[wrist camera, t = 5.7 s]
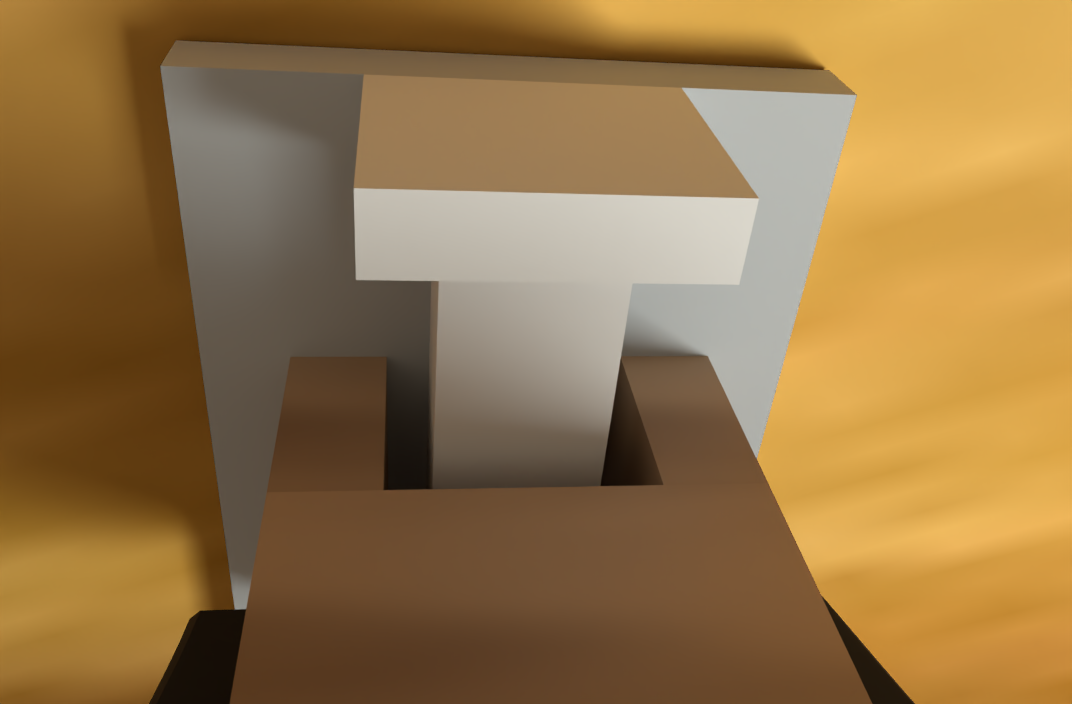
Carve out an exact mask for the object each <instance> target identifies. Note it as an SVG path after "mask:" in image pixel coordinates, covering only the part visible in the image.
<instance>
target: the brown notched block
mask: <svg viewBox="0 0 1072 704" xmlns="http://www.w3.org/2000/svg"><path fill="white" fill-rule="evenodd" d="M230 704H872V702H871V700H870V698H869V696H868V693H867V691H866V689H865V687H864V685H863V683H862V681H861V679H860V677H859V674H858V672H857V670H856V668H855V666H854V664H853V662H852V660H851V658H850V655H849V653H848V651H847V649H846V647H845V645H844V643H843V641H842V639H841V636H840V634H839V632H838V630H837V628H836V626H835V624H834V622H833V620H832V617H831V615H830V613H829V611H828V609H827V607H826V605H825V603H824V601H823V598H822V596H821V594H820V592H819V590H818V588H817V586H816V584H815V581H814V579H813V577H812V575H811V573H810V571H809V569H808V567H807V565H806V562H805V560H804V558H803V556H802V554H801V552H800V550H799V548H798V546H797V543H796V541H795V539H794V537H793V535H792V533H791V531H790V529H789V527H788V524H787V522H786V520H785V518H784V516H783V514H782V512H781V510H780V508H779V505H778V503H777V501H776V499H775V497H774V495H773V493H772V491H771V489H770V486H769V484H768V482H767V480H766V478H765V476H764V474H763V472H762V469H761V467H760V465H759V463H758V461H757V459H756V457H755V455H754V453H753V450H752V448H751V446H750V444H749V442H748V440H747V438H746V436H745V434H744V431H743V429H742V427H741V425H740V423H739V421H738V419H737V417H736V415H735V412H734V410H733V408H732V406H731V404H730V402H729V400H728V398H727V396H726V393H725V391H724V389H723V387H722V385H721V383H720V381H719V379H718V377H717V374H716V372H715V370H714V368H713V366H712V364H711V362H710V360H709V357H708V356H621V359H620V365H619V372H618V378H617V384H616V390H615V397H614V403H613V409H612V416H611V422H610V428H609V434H608V441H607V447H606V453H605V460H604V466H603V472H602V478H601V485H600V486H587V487H531V488H476V489H420V490H388V434H387V357H290V362H289V368H288V374H287V379H286V385H285V391H284V397H283V402H282V408H281V414H280V419H279V425H278V431H277V436H276V442H275V448H274V453H273V459H272V465H271V471H270V476H269V482H268V488H267V493H266V499H265V505H264V510H263V516H262V522H261V528H260V533H259V539H258V545H257V550H256V556H255V562H254V567H253V573H252V579H251V585H250V590H249V596H248V602H247V607H246V613H245V619H244V624H243V630H242V636H241V641H240V647H239V653H238V659H237V664H236V670H235V676H234V681H233V687H232V693H231V698H230Z"/></svg>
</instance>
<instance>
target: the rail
mask: <svg viewBox="0 0 1072 704" xmlns="http://www.w3.org/2000/svg"><path fill="white" fill-rule="evenodd" d="M160 69H161V76H162V83H163V90H164V98H165V105H166V112H167V119H168V127H169V134H170V141H171V149H172V156H173V163H174V170H175V178H176V185H177V192H178V200H179V207H180V214H181V221H182V229H183V236H184V243H185V251H186V258H187V265H188V272H189V280H190V287H191V294H192V302H193V309H194V316H195V323H196V331H197V338H198V345H199V352H200V360H201V367H202V374H203V382H204V389H205V396H206V403H207V411H208V418H209V425H210V433H211V440H212V447H213V454H214V462H215V469H216V476H217V484H218V491H219V498H220V505H221V513H222V520H223V527H224V534H225V542H226V549H227V556H228V564H229V571H230V578H231V585H232V593H233V600H234V607H235V610H236V609H246V607H247V602H248V596H249V590H250V585H251V579H252V573H253V567H254V562H255V556H256V550H257V545H258V539H259V533H260V528H261V522H262V516H263V510H264V505H265V499H266V493H267V488H268V482H269V476H270V471H271V465H272V459H273V453H274V448H275V442H276V436H277V431H278V425H279V419H280V414H281V408H282V402H283V397H284V391H285V385H286V379H287V374H288V368H289V362H290V357H387V434H388V490H420V489H476V488H531V487H587V486H600V485H601V478H602V472H603V466H604V460H605V453H606V447H607V441H608V434H609V428H610V422H611V416H612V409H613V403H614V397H615V390H616V384H617V378H618V372H619V365H620V359H621V356H708V357H709V360H710V362H711V364H712V366H713V368H714V370H715V372H716V374H717V377H718V379H719V381H720V383H721V385H722V387H723V389H724V391H725V393H726V396H727V398H728V400H729V402H730V404H731V406H732V408H733V410H734V412H735V415H736V417H737V419H738V421H739V423H740V425H741V427H742V429H743V431H744V434H745V436H746V438H747V440H748V442H749V444H750V446H751V448H752V450H753V453H754V455H755V457H756V459H757V456H758V453H759V449H760V446H761V442H762V438H763V435H764V431H765V427H766V424H767V420H768V416H769V413H770V409H771V406H772V402H773V398H774V395H775V391H776V387H777V384H778V380H779V376H780V373H781V369H782V365H783V362H784V358H785V355H786V351H787V347H788V344H789V340H790V336H791V333H792V329H793V325H794V322H795V318H796V315H797V311H798V307H799V304H800V300H801V296H802V293H803V289H804V285H805V282H806V278H807V275H808V271H809V267H810V264H811V260H812V256H813V253H814V249H815V245H816V242H817V238H818V235H819V231H820V227H821V224H822V220H823V216H824V213H825V209H826V205H827V202H828V198H829V195H830V191H831V187H832V184H833V180H834V176H835V173H836V169H837V165H838V162H839V158H840V155H841V151H842V147H843V144H844V140H845V136H846V133H847V129H848V125H849V122H850V118H851V115H852V111H853V107H854V104H855V100H856V96H857V95H856V94H855V93H854V92H853V91H852V90H851V89H849V88H848V87H847V86H846V85H845V84H844V83H843V82H842V81H840V80H839V79H838V78H837V77H836V76H835V75H834V74H833V73H832V72H830V71H829V70H812V69H791V68H769V67H747V66H725V65H703V64H681V63H659V62H637V61H616V60H594V59H572V58H550V57H528V56H506V55H484V54H462V53H441V52H419V51H397V50H375V49H353V48H331V47H309V46H287V45H266V44H244V43H222V42H200V41H178V40H176V41H175V43H174V45H173V46H172V48H171V49H170V51H169V53H168V54H167V56H166V57H165V59H164V61H163V62H162V64H161V65H160Z"/></svg>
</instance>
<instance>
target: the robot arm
mask: <svg viewBox="0 0 1072 704" xmlns="http://www.w3.org/2000/svg"><path fill="white" fill-rule="evenodd" d="M822 598H823V597H822ZM823 601H824V603H825V605H826V607H827V609H828V611H829V613H830V615H831V617H832V620H833V622H834V624H835V626H836V628H837V630H838V632H839V634H840V636H841V639H842V641H843V643H844V645H845V647H846V649H847V651H848V653H849V655H850V658H851V660H852V662H853V664H854V666H855V668H856V670H857V672H858V674H859V677H860V679H861V681H862V683H863V685H864V687H865V689H866V691H867V693H868V696H869V698H870V700H871V702H872V704H915V703H914V702H913V701H912V700H911V699H910V698H909V697H908V695H907V694H906V693H905V692H904V691H903V690H902V689H901V687H900V686H899V685H898V684H897V683H896V682H895V680H894V679H893V678H892V677H891V676H890V675H889V674H888V672H887V671H886V670H885V669H884V668H883V667H882V665H881V664H880V663H879V662H878V661H877V660H876V658H875V657H874V656H873V655H872V654H871V653H870V651H869V650H868V649H867V648H866V647H865V646H864V644H863V643H862V642H861V641H860V640H859V639H858V637H857V636H856V635H855V634H854V633H853V632H852V630H851V629H850V628H849V627H848V626H847V625H846V623H845V622H844V621H843V620H842V619H841V618H840V616H839V615H838V614H837V613H836V612H835V611H834V609H833V608H832V607H831V606H830V605H829V604H828V602H827V601H826V600H825V599H824V598H823ZM245 613H246V609H236V610H207V611H199V612H198V613H197V614H195V615H194V616H193V617H192V618H190V620H189V622H188V624H187V627H186V629H185V631H184V633H183V636H182V638H181V640H180V642H179V645H178V647H177V649H176V651H175V653H174V655H173V657H172V659H171V661H170V663H169V665H168V668H167V670H166V672H165V674H164V676H163V678H162V680H161V682H160V684H159V685H158V687H157V689H156V691H155V693H154V695H153V697H152V699H151V701H150V703H149V704H230V698H231V693H232V687H233V681H234V676H235V670H236V664H237V659H238V653H239V647H240V641H241V636H242V630H243V624H244V619H245Z"/></svg>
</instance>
